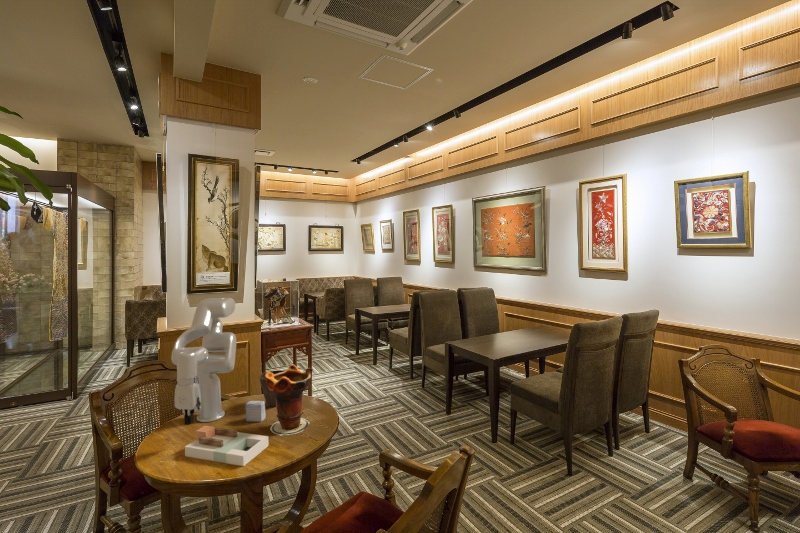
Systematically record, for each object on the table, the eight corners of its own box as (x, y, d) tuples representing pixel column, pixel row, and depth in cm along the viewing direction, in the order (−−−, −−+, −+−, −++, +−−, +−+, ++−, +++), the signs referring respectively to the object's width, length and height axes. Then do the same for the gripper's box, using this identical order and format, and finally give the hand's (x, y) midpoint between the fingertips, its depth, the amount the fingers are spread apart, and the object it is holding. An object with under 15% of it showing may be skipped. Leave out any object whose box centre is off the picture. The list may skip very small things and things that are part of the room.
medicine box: (265, 418, 194) (265, 400, 193) (261, 422, 189) (261, 404, 189) (250, 417, 194) (249, 400, 194) (246, 421, 190) (245, 404, 189)
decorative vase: (322, 416, 193) (319, 361, 190) (297, 441, 171) (293, 379, 168) (285, 412, 199) (282, 358, 196) (257, 435, 177) (252, 376, 174)
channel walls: (199, 443, 161) (198, 437, 161) (215, 433, 170) (215, 427, 170) (221, 447, 158) (221, 441, 158) (237, 436, 167) (236, 430, 167)
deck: (185, 456, 159) (184, 446, 159) (214, 437, 175) (213, 428, 174) (243, 466, 151) (243, 456, 151) (268, 445, 167) (268, 436, 166)
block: (196, 440, 164) (195, 430, 164) (205, 434, 169) (204, 425, 169) (206, 441, 163) (205, 432, 162) (214, 436, 167) (214, 426, 167)
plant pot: (268, 397, 219) (267, 369, 218) (294, 399, 217) (293, 370, 216) (255, 409, 204) (254, 379, 203) (282, 410, 202) (281, 379, 201)
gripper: (166, 382, 165) (167, 425, 165) (195, 385, 161) (196, 429, 161) (180, 377, 172) (182, 418, 173) (208, 379, 168) (210, 421, 168)
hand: (189, 423), depth 167 cm, fingers closed
